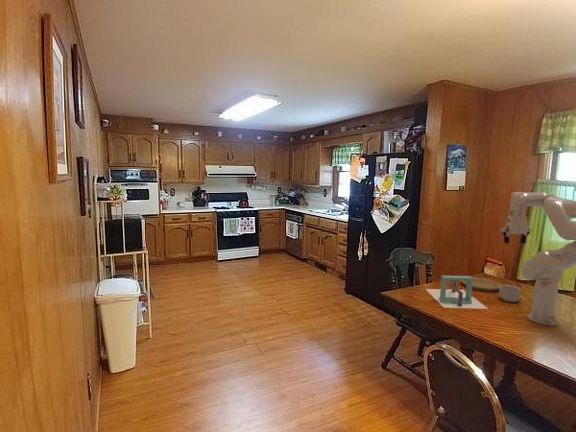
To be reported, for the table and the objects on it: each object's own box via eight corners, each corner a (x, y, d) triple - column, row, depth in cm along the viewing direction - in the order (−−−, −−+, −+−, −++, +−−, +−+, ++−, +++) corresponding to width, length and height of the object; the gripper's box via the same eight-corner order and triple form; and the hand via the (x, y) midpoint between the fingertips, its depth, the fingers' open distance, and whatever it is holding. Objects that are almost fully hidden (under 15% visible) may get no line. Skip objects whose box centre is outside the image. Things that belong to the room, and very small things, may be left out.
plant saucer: (455, 286, 223) (455, 281, 223) (468, 279, 239) (469, 274, 238) (495, 296, 205) (495, 291, 205) (507, 287, 221) (507, 282, 220)
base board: (488, 311, 182) (488, 308, 181) (443, 309, 183) (443, 307, 183) (463, 292, 211) (463, 289, 211) (425, 291, 213) (425, 288, 213)
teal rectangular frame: (471, 304, 188) (473, 278, 186) (443, 303, 189) (444, 278, 187) (466, 300, 194) (468, 275, 192) (439, 299, 195) (440, 274, 193)
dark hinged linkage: (462, 306, 184) (463, 292, 183) (452, 305, 186) (453, 291, 185) (455, 291, 208) (456, 279, 207) (446, 291, 209) (447, 278, 208)
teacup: (519, 305, 190) (520, 292, 189) (497, 301, 197) (498, 288, 196) (520, 298, 201) (521, 285, 200) (499, 294, 208) (500, 282, 207)
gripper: (506, 214, 183) (504, 244, 185) (537, 214, 183) (534, 244, 186) (498, 212, 191) (495, 241, 193) (527, 212, 191) (524, 241, 193)
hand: (514, 243), depth 189 cm, fingers open, 9 cm apart
